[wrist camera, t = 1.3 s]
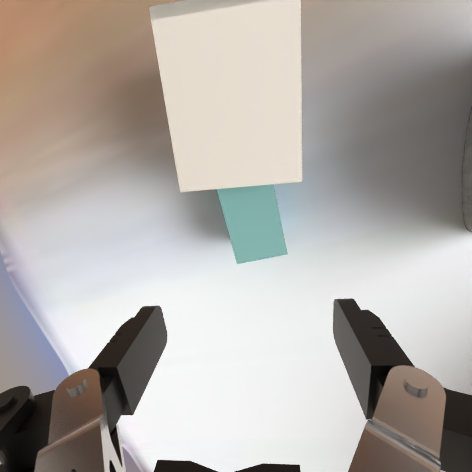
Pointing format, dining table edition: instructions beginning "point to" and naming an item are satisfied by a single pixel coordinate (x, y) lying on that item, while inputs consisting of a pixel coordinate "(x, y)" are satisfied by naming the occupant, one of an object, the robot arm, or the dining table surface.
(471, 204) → the hip flask
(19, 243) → the dining table surface
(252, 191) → the teal rectangular block
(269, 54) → the cream rectangular block
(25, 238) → the dining table surface
